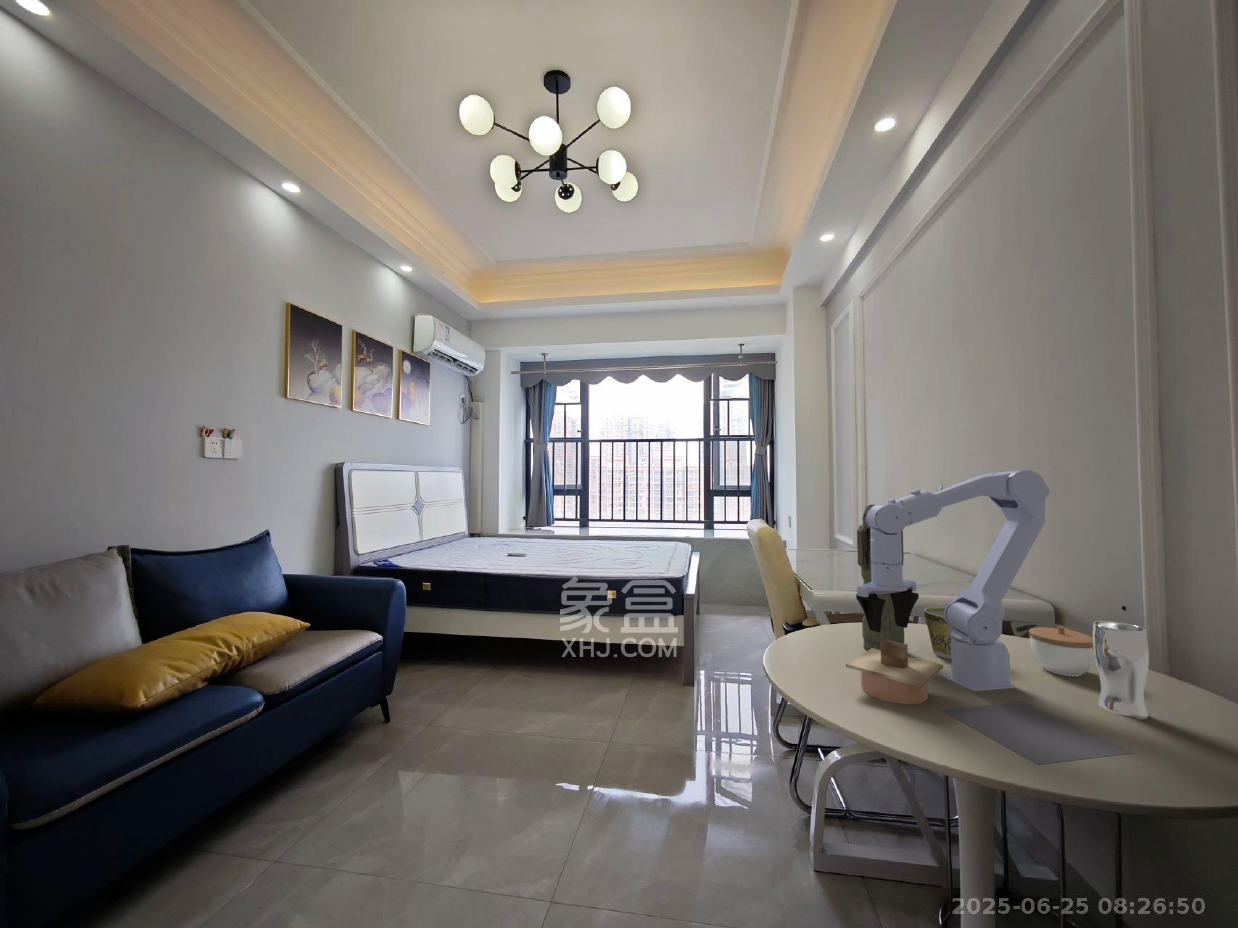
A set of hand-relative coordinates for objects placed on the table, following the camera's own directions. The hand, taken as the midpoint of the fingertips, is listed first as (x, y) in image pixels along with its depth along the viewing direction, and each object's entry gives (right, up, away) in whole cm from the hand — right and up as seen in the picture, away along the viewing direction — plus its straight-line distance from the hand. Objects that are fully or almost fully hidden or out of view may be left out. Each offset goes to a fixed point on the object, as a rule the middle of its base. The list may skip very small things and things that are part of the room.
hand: (888, 628), depth 101 cm
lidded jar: (+39, -10, +3) cm, 41 cm away
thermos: (+8, -11, +17) cm, 22 cm away
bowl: (-3, -10, -7) cm, 13 cm away
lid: (-3, -5, -7) cm, 9 cm away
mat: (+11, -10, -22) cm, 26 cm away
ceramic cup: (+23, -11, +14) cm, 29 cm away
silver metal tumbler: (+33, -10, -15) cm, 38 cm away
